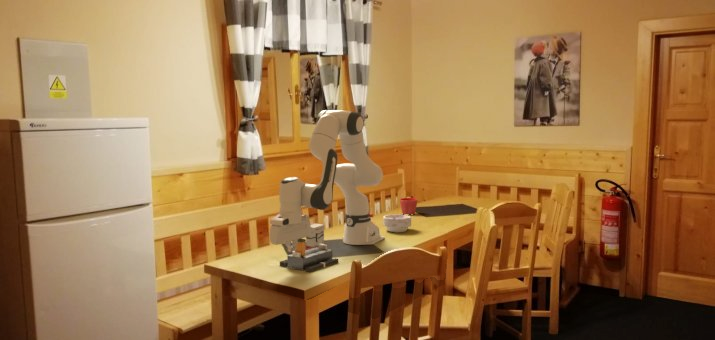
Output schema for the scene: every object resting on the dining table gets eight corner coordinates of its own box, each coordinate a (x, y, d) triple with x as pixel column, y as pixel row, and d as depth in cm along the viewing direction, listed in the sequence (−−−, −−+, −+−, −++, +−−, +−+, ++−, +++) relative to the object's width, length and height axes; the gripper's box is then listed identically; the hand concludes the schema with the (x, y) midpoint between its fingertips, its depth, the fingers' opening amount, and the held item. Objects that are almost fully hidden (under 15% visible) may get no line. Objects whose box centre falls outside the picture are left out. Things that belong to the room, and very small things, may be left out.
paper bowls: (404, 226, 305) (404, 212, 304) (415, 232, 290) (415, 217, 289) (379, 229, 300) (379, 214, 299) (389, 234, 286) (389, 219, 285)
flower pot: (412, 216, 334) (412, 201, 333) (396, 215, 340) (396, 199, 339) (420, 213, 343) (420, 198, 342) (404, 212, 349) (404, 197, 348)
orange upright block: (297, 253, 228) (297, 237, 228) (306, 254, 225) (305, 239, 225) (294, 254, 227) (293, 238, 226) (302, 256, 224) (302, 240, 223)
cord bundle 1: (309, 256, 244) (309, 252, 244) (315, 257, 242) (315, 253, 241) (279, 265, 230) (279, 261, 230) (285, 266, 228) (285, 262, 228)
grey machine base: (317, 258, 241) (316, 242, 240) (332, 261, 235) (332, 245, 235) (287, 267, 227) (287, 250, 226) (303, 271, 221) (302, 254, 221)
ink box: (314, 252, 250) (314, 227, 249) (305, 251, 253) (305, 226, 252) (324, 248, 258) (324, 223, 257) (315, 247, 260) (315, 223, 259)
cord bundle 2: (334, 261, 234) (334, 257, 234) (338, 262, 233) (338, 258, 233) (305, 271, 221) (305, 267, 220) (309, 272, 219) (309, 268, 219)
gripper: (303, 212, 231) (304, 244, 232) (266, 220, 215) (267, 255, 216) (314, 214, 227) (314, 247, 228) (277, 222, 211) (278, 257, 212)
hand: (291, 251), depth 222 cm, fingers closed
